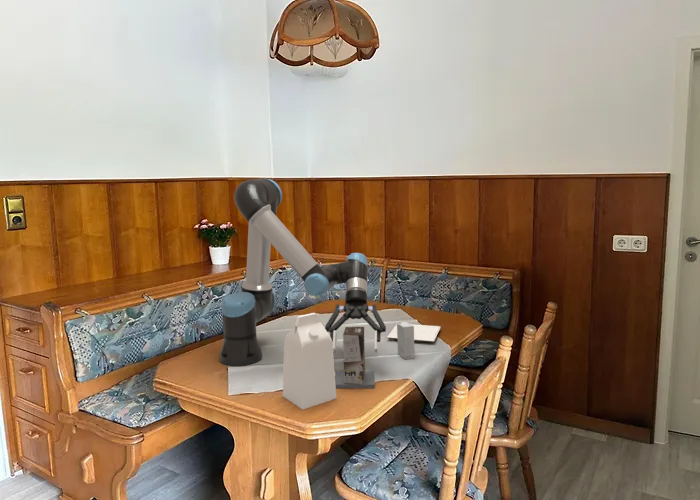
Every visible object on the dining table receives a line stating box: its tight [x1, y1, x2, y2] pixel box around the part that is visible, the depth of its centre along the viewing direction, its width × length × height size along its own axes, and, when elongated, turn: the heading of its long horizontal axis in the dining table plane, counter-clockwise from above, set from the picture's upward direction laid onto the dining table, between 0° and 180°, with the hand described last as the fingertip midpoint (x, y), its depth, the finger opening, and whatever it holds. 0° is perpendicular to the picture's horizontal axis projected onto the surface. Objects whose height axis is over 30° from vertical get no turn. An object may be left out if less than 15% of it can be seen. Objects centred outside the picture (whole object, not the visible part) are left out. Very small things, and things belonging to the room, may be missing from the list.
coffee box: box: [342, 326, 366, 384], centre depth 176 cm, size 9×6×16 cm
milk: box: [282, 312, 337, 410], centre depth 164 cm, size 12×12×26 cm
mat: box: [335, 370, 376, 389], centre depth 178 cm, size 11×13×1 cm
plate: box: [386, 323, 441, 343], centre depth 221 cm, size 19×19×2 cm
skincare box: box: [396, 321, 416, 360], centre depth 198 cm, size 6×4×12 cm
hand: (354, 350), depth 178 cm, fingers open, 13 cm apart
